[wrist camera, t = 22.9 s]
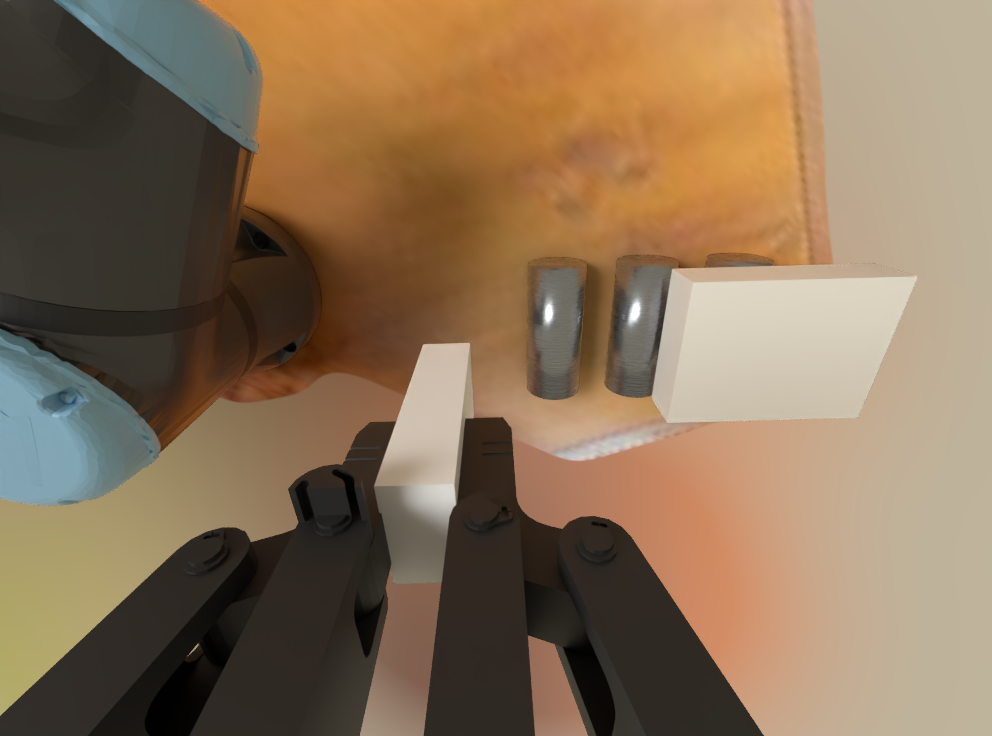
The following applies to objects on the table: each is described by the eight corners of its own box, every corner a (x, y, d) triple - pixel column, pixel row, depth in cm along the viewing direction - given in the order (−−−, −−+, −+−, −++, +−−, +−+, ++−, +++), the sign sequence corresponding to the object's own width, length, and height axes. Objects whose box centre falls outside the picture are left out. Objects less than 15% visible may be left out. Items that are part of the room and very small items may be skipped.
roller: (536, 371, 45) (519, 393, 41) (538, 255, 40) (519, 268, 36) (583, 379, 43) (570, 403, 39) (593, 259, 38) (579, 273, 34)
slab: (651, 398, 40) (667, 422, 36) (672, 268, 34) (693, 282, 31) (825, 393, 40) (858, 417, 36) (873, 263, 34) (918, 276, 31)
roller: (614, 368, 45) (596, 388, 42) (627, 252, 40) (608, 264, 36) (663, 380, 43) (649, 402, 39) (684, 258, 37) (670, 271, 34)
